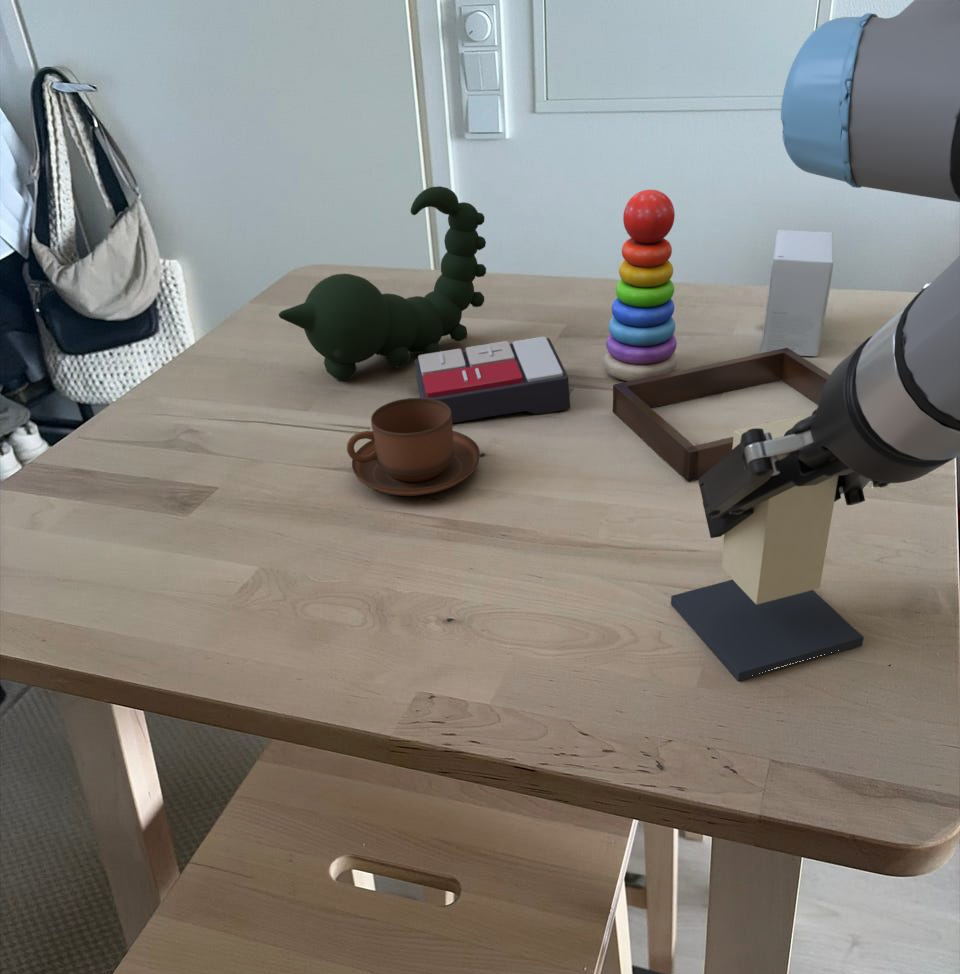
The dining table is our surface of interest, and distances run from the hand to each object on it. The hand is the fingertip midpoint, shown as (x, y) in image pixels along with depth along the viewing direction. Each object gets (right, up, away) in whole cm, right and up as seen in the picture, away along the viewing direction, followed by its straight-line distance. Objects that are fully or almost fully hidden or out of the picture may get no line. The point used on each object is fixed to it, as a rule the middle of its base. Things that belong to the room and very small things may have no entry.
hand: (752, 512), depth 74 cm
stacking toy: (-2, +20, +39) cm, 44 cm away
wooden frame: (+6, +12, +27) cm, 30 cm away
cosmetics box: (+16, +25, +43) cm, 52 cm away
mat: (+1, -8, +2) cm, 8 cm away
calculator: (-18, +17, +36) cm, 43 cm away
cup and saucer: (-26, +6, +23) cm, 35 cm away
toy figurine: (-30, +23, +45) cm, 58 cm away
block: (+1, -5, -1) cm, 5 cm away
